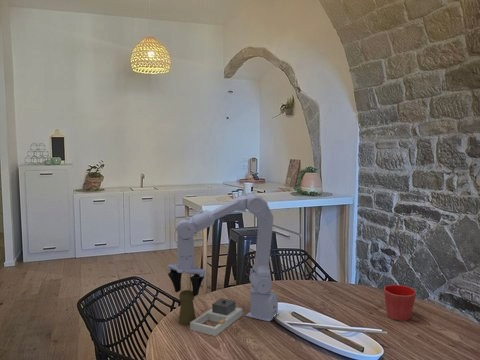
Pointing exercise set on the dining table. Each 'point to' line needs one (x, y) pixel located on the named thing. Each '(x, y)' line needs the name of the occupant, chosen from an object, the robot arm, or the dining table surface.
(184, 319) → the brown pear
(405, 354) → the dining table surface
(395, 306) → the flower pot
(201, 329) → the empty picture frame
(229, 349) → the dining table surface
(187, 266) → the robot arm
